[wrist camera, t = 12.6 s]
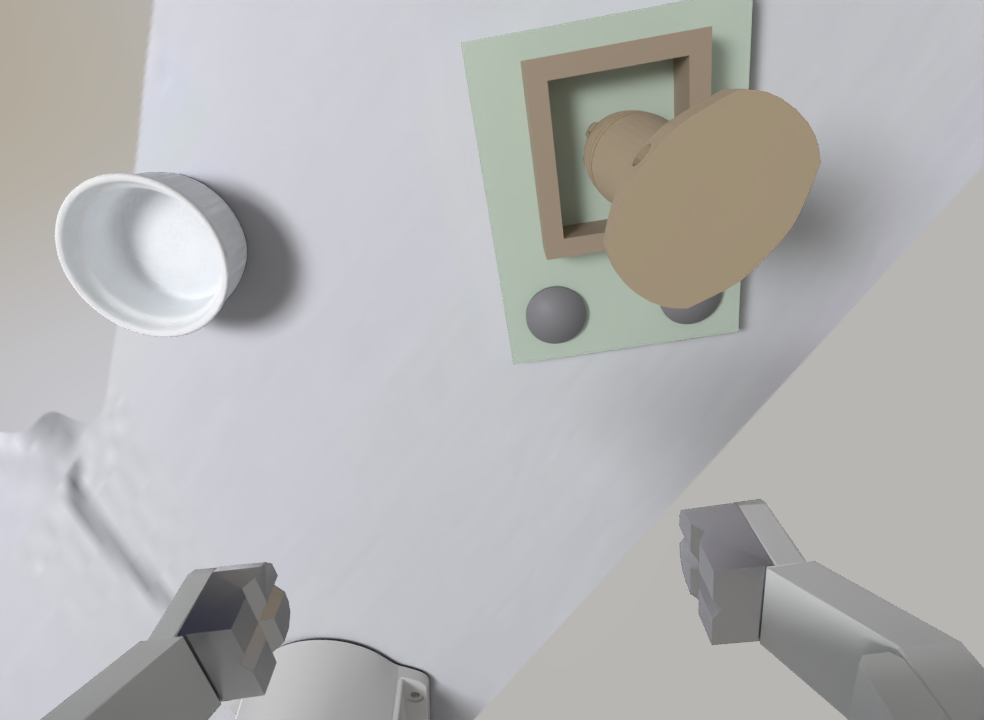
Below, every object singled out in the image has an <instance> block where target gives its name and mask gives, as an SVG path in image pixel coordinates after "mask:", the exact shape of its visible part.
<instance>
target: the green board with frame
mask: <svg viewBox="0 0 984 720" xmlns="http://www.w3.org/2000/svg"><path fill="white" fill-rule="evenodd" d="M752 3H753V0H687V1H682V2H677V3H671V4H666V5H661V6H655V7H650V8H644V9H639V10H634V11H628V12H623V13H618V14H612V15H607V16H602V17H596V18H591V19H586V20H580V21H575V22H570V23H564V24H559V25H554V26H548V27H543V28H537V29H532V30H527V31H521V32H516V33H511V34H505V35H500V36H495V37H489V38H484V39H479V40H473V41H468V42H463V43H461V47H462V53H463V59H464V65H465V71H466V78H467V84H468V90H469V96H470V102H471V108H472V114H473V120H474V126H475V132H476V139H477V145H478V151H479V157H480V163H481V169H482V175H483V181H484V187H485V193H486V199H487V206H488V212H489V218H490V224H491V230H492V236H493V242H494V248H495V254H496V260H497V267H498V273H499V279H500V285H501V291H502V297H503V303H504V309H505V315H506V321H507V328H508V334H509V340H510V346H511V352H512V358H513V364H520V363H527V362H534V361H541V360H548V359H555V358H561V357H568V356H575V355H582V354H589V353H596V352H603V351H609V350H616V349H623V348H630V347H637V346H644V345H650V344H657V343H664V342H671V341H678V340H685V339H692V338H698V337H705V336H712V335H719V334H726V333H733V332H738V327H739V304H740V281H739V282H738V283H736V284H735V285H733V286H732V287H730V288H728V289H726V290H724V291H722V292H720V293H718V294H716V295H715V296H713V297H711V298H708V299H706V300H704V301H702V302H700V303H698V304H696V305H694V306H692V307H690V308H687V309H685V308H669V307H663V306H660V305H657V304H655V303H652V302H650V301H648V300H646V299H645V298H643V297H641V296H639V295H638V294H636V293H635V292H634V291H633V290H632V289H631V288H629V287H628V286H627V285H626V284H625V283H624V282H623V280H622V279H621V278H620V277H619V275H618V274H617V273H616V271H615V270H614V268H613V266H612V264H611V262H610V260H609V258H608V256H607V254H606V250H605V247H604V244H603V238H604V233H605V229H606V224H607V220H608V216H609V212H610V209H611V205H612V203H611V202H609V201H608V200H607V199H606V198H605V197H603V196H602V195H601V194H600V192H599V191H598V190H597V189H596V187H595V186H594V185H593V183H592V181H591V179H590V177H589V175H588V173H587V170H586V167H585V165H584V162H583V156H584V148H585V143H586V140H587V137H586V131H587V129H588V127H589V126H590V125H591V124H592V123H593V122H599V121H600V120H602V119H603V118H605V117H606V116H609V115H611V114H613V113H616V112H620V111H627V110H640V111H646V112H650V113H653V114H656V115H659V116H661V117H663V118H665V119H667V120H669V121H670V120H672V119H673V118H675V117H676V116H677V115H679V114H681V113H682V112H684V111H685V110H687V109H689V108H690V107H692V106H693V105H695V104H697V103H699V102H701V101H702V100H704V99H706V98H708V97H710V96H712V95H714V94H715V93H717V92H719V91H721V90H723V89H749V72H750V49H751V26H752Z"/></svg>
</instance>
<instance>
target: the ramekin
mask: <svg viewBox="0 0 984 720" xmlns="http://www.w3.org/2000/svg"><path fill="white" fill-rule="evenodd" d="M55 242H56V249H57V253H58V257H59V260H60V263H61V265H62V268H63V270H64V272H65V274H66V276H67V278H68V279H69V281H70V282H71V284H72V285H73V287H74V288H75V289H76V291H77V292H78V293H79V295H80V296H81V297H82V298H83V299H84V300H85V301H86V302H87V303H88V304H89V305H90V306H91V307H93V308H94V309H95V310H96V311H97V312H99V313H100V314H101V315H103V316H104V317H106V318H107V319H108V320H110V321H112V322H114V323H116V324H117V325H119V326H121V327H123V328H126V329H128V330H131V331H133V332H136V333H140V334H143V335H149V336H155V337H177V336H182V335H187V334H189V333H192V332H195V331H197V330H199V329H201V328H202V327H204V326H205V325H207V324H208V323H209V322H210V321H211V320H213V318H214V317H215V316H216V315H217V314H218V313H219V311H220V310H221V308H222V307H223V305H224V303H225V301H226V299H227V298H228V297H229V296H230V295H231V293H232V292H233V291H234V290H235V288H236V287H237V285H238V283H239V281H240V279H241V277H242V274H243V272H244V269H245V264H246V261H247V246H246V240H245V236H244V233H243V230H242V228H241V226H240V223H239V222H238V220H237V218H236V216H235V215H234V213H233V212H232V210H231V209H230V207H229V206H228V205H227V204H226V203H225V202H224V201H223V199H222V198H221V197H219V196H218V195H217V194H216V193H215V192H214V191H212V190H211V189H209V188H208V187H207V186H205V185H204V184H202V183H200V182H198V181H196V180H194V179H191V178H189V177H186V176H183V175H179V174H175V173H166V172H147V173H140V174H128V173H113V174H105V175H100V176H97V177H94V178H91V179H89V180H86V181H84V182H83V183H81V184H80V185H78V186H77V187H76V188H74V189H73V190H72V191H71V192H70V194H69V195H68V196H67V197H66V199H65V200H64V202H63V203H62V206H61V208H60V210H59V213H58V216H57V220H56V227H55Z"/></svg>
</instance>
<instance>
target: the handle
mask: <svg viewBox="0 0 984 720" xmlns="http://www.w3.org/2000/svg"><path fill="white" fill-rule="evenodd" d="M586 137H587V140H586V143H585V148H584V156H583V162H584V165H585V167H586V170H587V173H588V175H589V177H590V179H591V181H592V183H593V185H594V186H595V187H596V189H597V190H598V191H599V192H600V194H601V195H602V196H603V197H605V198H606V199H607V200H608V201H609V202H611V203H612V205H611V209H610V212H609V216H608V220H607V224H606V229H605V233H604V238H603V244H604V247H605V250H606V254H607V256H608V258H609V260H610V262H611V264H612V266H613V268H614V270H615V271H616V273H617V274H618V275H619V277H620V278H621V279H622V280H623V282H624V283H625V284H626V285H627V286H628V287H629V288H631V289H632V290H633V291H634V292H635V293H636V294H638V295H639V296H641V297H643V298H645V299H646V300H648V301H650V302H652V303H655V304H657V305H660V306H663V307H669V308H685V309H687V308H690V307H692V306H694V305H696V304H698V303H700V302H702V301H704V300H706V299H708V298H711V297H713V296H715V295H716V294H718V293H720V292H722V291H724V290H726V289H728V288H730V287H732V286H733V285H735V284H736V283H738V282H739V281H741V280H743V279H744V278H745V277H746V276H747V275H748V274H749V273H750V272H752V271H753V270H754V269H755V268H756V267H757V266H758V265H759V264H760V263H761V262H762V261H763V260H764V258H765V257H766V256H767V255H768V254H769V253H770V252H771V251H772V250H773V249H774V248H775V247H776V246H777V245H778V244H779V243H780V241H781V240H782V239H783V238H784V237H785V235H786V234H787V233H788V231H789V230H790V229H791V228H792V226H793V225H794V223H795V221H796V219H797V217H798V215H799V214H800V212H801V210H802V207H803V205H804V203H805V200H806V198H807V196H808V193H809V191H810V188H811V186H812V183H813V181H814V178H815V176H816V173H817V171H818V168H819V166H820V163H821V161H820V152H819V147H818V143H817V140H816V136H815V134H814V133H813V131H812V129H811V127H810V126H809V124H808V122H807V121H806V120H805V119H804V118H803V117H802V115H801V114H800V113H799V112H798V111H797V110H796V109H795V108H794V107H792V106H791V105H790V104H788V103H787V102H786V101H784V100H783V99H781V98H779V97H777V96H775V95H772V94H770V93H768V92H764V91H758V90H751V89H723V90H721V91H719V92H717V93H715V94H714V95H712V96H710V97H708V98H706V99H704V100H702V101H701V102H699V103H697V104H695V105H693V106H692V107H690V108H689V109H687V110H685V111H684V112H682V113H681V114H679V115H677V116H676V117H675V118H673V119H672V120H670V121H669V120H667V119H665V118H663V117H661V116H659V115H656V114H653V113H650V112H646V111H640V110H627V111H620V112H616V113H613V114H611V115H609V116H606V117H605V118H603V119H602V120H600V121H599V122H593V123H592V124H591V125H590V126H589V127H588V129H587V131H586Z"/></svg>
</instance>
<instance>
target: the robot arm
mask: <svg viewBox="0 0 984 720" xmlns="http://www.w3.org/2000/svg"><path fill="white" fill-rule="evenodd" d="M679 526H680V528H681V530H682V533H683V535H684V539H683V540H682V541H681V542H680V559H681V565H682V571H683V574H684V577H685V581H686V584H687V586H688V589H689V591H690V594H692V595H693V596H694V597H696V598H697V599H699V616H700V618H701V620H702V623H703V625H704V627H705V630H706V632H707V635H708V637H709V640H710V642H711V644H712V645H718V644H728V643H741V642H753V641H760V644H761V645H762V646H764V647H765V648H766V649H767V650H768V651H769V652H771V653H772V654H773V655H774V656H775V657H776V658H778V659H779V660H780V661H781V662H782V663H783V664H784V665H786V666H787V667H788V668H789V669H790V670H791V671H793V672H794V673H795V674H796V675H797V676H798V677H800V678H801V679H802V680H803V681H804V682H805V683H807V684H808V685H809V686H810V687H811V688H812V689H814V690H815V691H816V692H817V693H818V694H819V695H821V696H822V697H823V698H824V699H825V700H826V701H827V702H829V703H830V704H831V705H832V706H833V707H834V708H836V709H837V710H838V711H839V712H840V713H842V714H843V715H844V716H845V717H846V718H847V719H848V720H984V668H983V667H982V666H981V664H980V663H979V662H978V661H977V660H976V659H975V657H974V656H973V655H972V654H971V653H970V652H969V651H968V649H967V648H966V647H965V646H964V645H963V644H962V642H960V641H958V640H957V639H955V638H953V637H951V636H949V635H947V634H946V633H944V632H942V631H940V630H938V629H937V628H935V627H933V626H931V625H929V624H928V623H926V622H924V621H922V620H920V619H919V618H917V617H915V616H913V615H911V614H909V613H908V612H906V611H904V610H902V609H900V608H898V607H897V606H895V605H893V604H891V603H890V602H888V601H886V600H884V599H882V598H881V597H879V596H877V595H875V594H873V593H872V592H870V591H868V590H866V589H864V588H863V587H861V586H859V585H857V584H855V583H853V582H852V581H850V580H848V579H846V578H844V577H843V576H841V575H839V574H837V573H835V572H833V571H832V570H830V569H828V568H826V567H825V566H823V565H821V564H819V563H817V562H816V561H811V562H806V561H805V559H804V558H803V556H802V555H801V553H800V552H799V551H798V549H797V548H796V546H795V545H794V543H793V542H792V540H791V539H790V537H789V536H788V535H787V533H786V532H785V530H784V529H783V527H782V526H781V524H780V523H779V522H778V520H777V519H776V517H775V516H774V514H773V513H772V511H771V510H770V509H769V507H768V506H767V504H766V503H765V502H764V501H762V500H761V499H756V500H750V501H742V502H735V503H733V504H732V503H730V504H722V505H715V506H707V507H700V508H693V509H685V510H681V512H680V524H679ZM277 576H278V575H277V573H276V571H275V569H274V567H273V565H272V564H271V563H267V562H263V563H253V564H243V565H233V566H223V567H218V568H209V569H197V570H194V571H193V572H191V573H190V574H188V575H187V577H186V579H185V580H184V582H183V584H182V585H181V587H180V588H179V590H178V592H177V593H176V595H175V597H174V598H173V600H172V602H171V603H170V605H169V606H168V608H167V610H166V611H165V613H164V615H163V616H162V618H161V619H160V621H159V623H158V624H157V626H156V628H155V629H154V631H153V633H152V634H151V636H150V637H149V639H148V640H147V641H140V642H139V643H137V644H136V645H135V646H134V647H132V648H131V649H130V650H128V651H127V652H126V653H125V654H123V655H122V656H121V657H120V658H118V659H117V660H116V661H114V662H113V663H112V664H111V665H109V666H108V667H107V668H105V669H104V670H103V671H102V672H100V673H99V674H98V675H97V676H95V677H94V678H93V679H91V680H90V681H89V682H88V683H86V684H85V685H84V686H83V687H81V688H80V689H79V690H77V691H76V692H75V693H74V694H72V695H71V696H70V697H68V698H67V699H66V700H65V701H63V702H62V703H61V704H60V705H58V706H57V707H56V708H54V709H53V710H52V711H51V712H49V713H48V714H47V715H46V716H44V717H43V718H42V719H40V720H208V719H209V718H210V717H211V715H212V714H213V713H214V712H215V711H216V710H217V708H218V707H219V706H220V705H221V702H222V701H229V700H231V703H230V708H231V709H232V711H233V712H234V713H235V714H236V718H235V720H430V696H429V678H428V676H427V675H426V674H424V673H422V672H420V671H417V670H414V669H411V668H407V667H403V666H399V665H397V664H394V663H393V662H391V661H389V660H387V659H386V658H384V657H383V656H381V655H379V654H377V653H375V652H373V651H371V650H369V649H366V648H364V647H361V646H358V645H354V644H350V643H346V642H340V641H332V640H308V641H300V642H295V643H291V644H287V645H284V646H282V647H279V646H280V645H281V644H282V643H283V642H284V641H285V638H286V635H287V632H288V629H289V620H290V608H289V602H288V599H287V596H286V594H285V592H284V591H283V590H281V589H280V588H278V587H277V586H275V585H274V583H275V581H276V578H277ZM278 647H279V648H278Z"/></svg>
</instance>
